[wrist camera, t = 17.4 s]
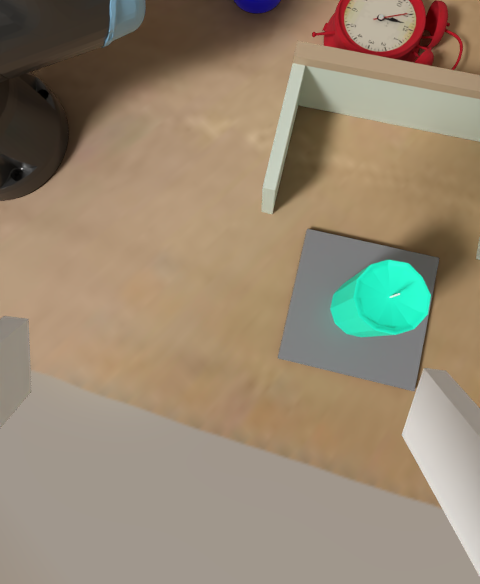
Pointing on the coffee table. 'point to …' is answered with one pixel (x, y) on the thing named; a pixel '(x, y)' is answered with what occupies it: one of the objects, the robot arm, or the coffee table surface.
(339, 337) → the slate tile
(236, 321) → the coffee table surface
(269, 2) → the hyacinth
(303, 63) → the white u-shaped frame
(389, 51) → the alarm clock
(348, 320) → the candle
